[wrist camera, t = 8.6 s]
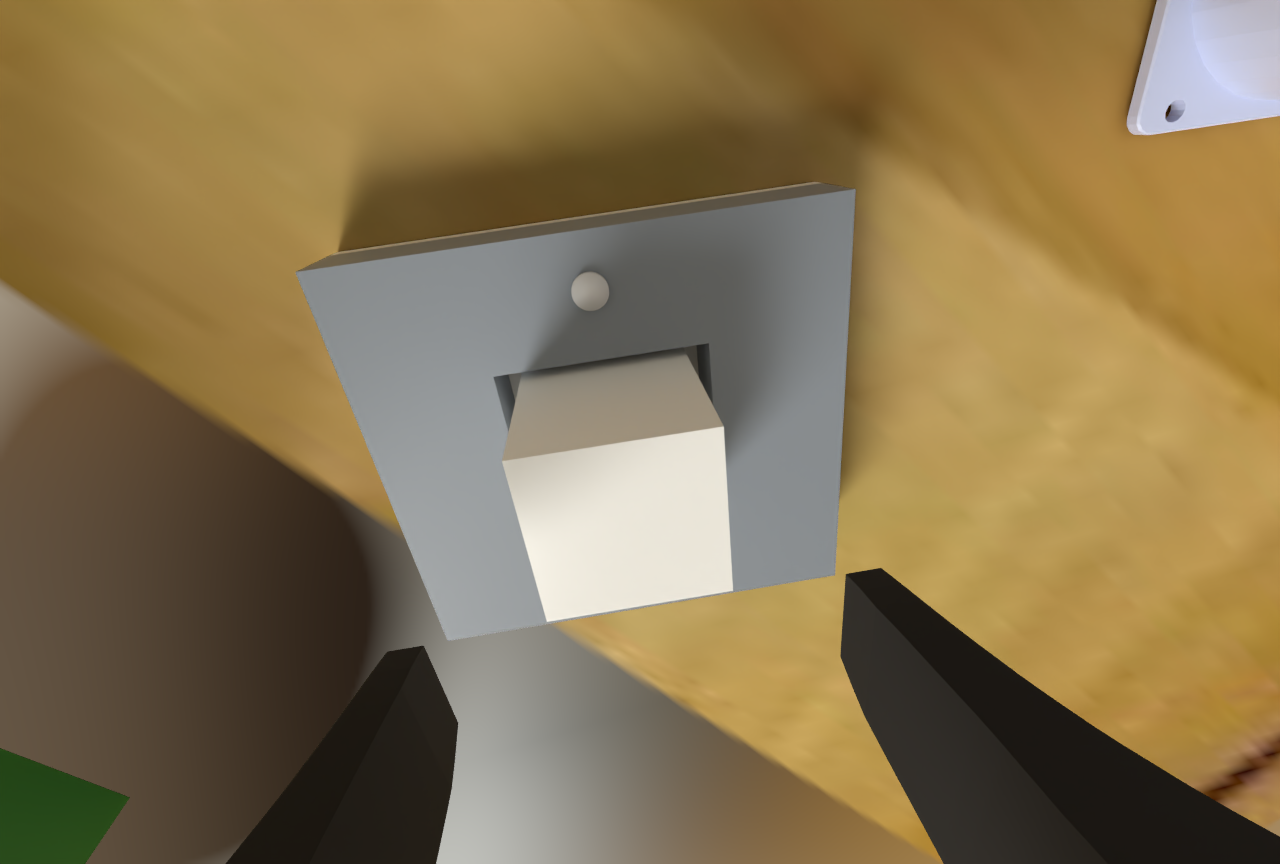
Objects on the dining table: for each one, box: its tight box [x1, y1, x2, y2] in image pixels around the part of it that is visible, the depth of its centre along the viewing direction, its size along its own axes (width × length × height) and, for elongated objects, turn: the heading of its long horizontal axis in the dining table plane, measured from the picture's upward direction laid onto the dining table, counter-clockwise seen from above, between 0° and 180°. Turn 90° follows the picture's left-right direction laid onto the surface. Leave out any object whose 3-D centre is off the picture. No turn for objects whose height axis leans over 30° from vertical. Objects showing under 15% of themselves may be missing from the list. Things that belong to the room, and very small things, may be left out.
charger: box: [502, 347, 733, 622], centre depth 15 cm, size 4×4×6 cm
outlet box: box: [295, 182, 856, 641], centre depth 17 cm, size 13×12×3 cm
